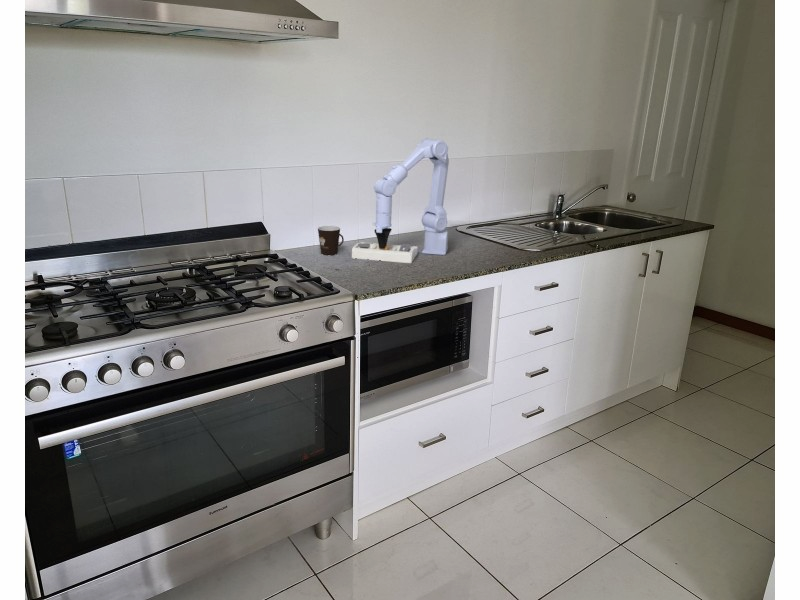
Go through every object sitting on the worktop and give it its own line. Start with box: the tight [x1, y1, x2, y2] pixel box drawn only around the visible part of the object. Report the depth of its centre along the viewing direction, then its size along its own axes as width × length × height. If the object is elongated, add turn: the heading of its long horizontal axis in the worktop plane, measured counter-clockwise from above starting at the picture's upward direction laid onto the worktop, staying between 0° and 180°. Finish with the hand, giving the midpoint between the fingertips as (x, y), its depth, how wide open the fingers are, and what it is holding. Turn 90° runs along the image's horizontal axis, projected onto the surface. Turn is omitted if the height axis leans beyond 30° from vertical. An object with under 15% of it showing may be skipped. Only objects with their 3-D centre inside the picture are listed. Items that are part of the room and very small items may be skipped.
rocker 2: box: [399, 243, 411, 252], centre depth 219 cm, size 3×6×2 cm, turn 169°
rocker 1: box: [358, 242, 370, 248], centre depth 221 cm, size 3×6×2 cm, turn 169°
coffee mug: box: [317, 225, 345, 256], centre depth 222 cm, size 12×9×10 cm
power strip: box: [351, 241, 419, 264], centre depth 223 cm, size 23×14×4 cm, turn 79°
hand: (382, 247), depth 217 cm, fingers closed, pressing on rocker middle
